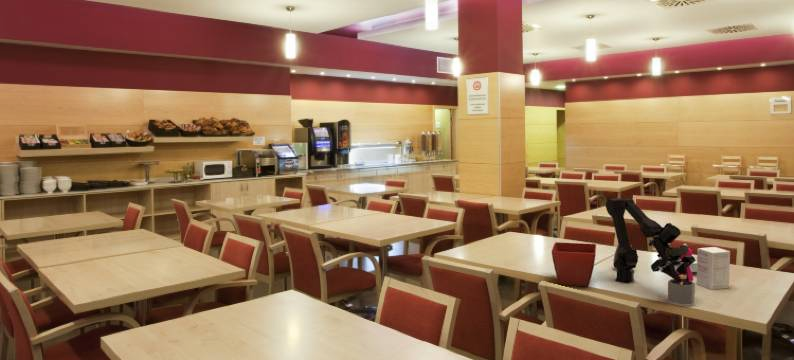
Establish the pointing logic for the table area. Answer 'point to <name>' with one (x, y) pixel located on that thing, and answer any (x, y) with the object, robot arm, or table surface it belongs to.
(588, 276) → the plant pot
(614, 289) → the table surface
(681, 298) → the grey rounded cube
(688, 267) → the pepper mill
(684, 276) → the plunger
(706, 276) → the supplement box
